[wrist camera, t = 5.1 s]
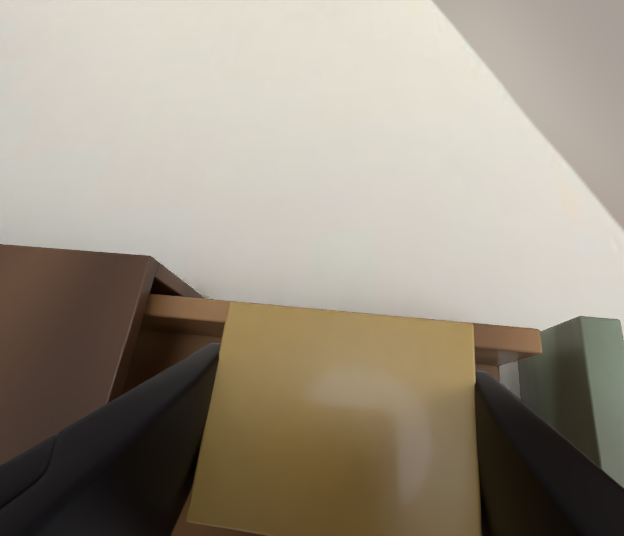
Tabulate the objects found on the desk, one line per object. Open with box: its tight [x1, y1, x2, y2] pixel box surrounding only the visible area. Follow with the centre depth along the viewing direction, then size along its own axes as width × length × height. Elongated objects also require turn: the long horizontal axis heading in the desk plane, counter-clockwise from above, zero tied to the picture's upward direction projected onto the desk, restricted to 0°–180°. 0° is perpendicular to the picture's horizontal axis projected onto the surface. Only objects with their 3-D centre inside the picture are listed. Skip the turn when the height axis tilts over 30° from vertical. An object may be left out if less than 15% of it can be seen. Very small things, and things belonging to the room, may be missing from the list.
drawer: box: [121, 294, 624, 536], centre depth 13 cm, size 22×10×5 cm, turn 83°
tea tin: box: [186, 301, 482, 536], centre depth 11 cm, size 4×5×8 cm
